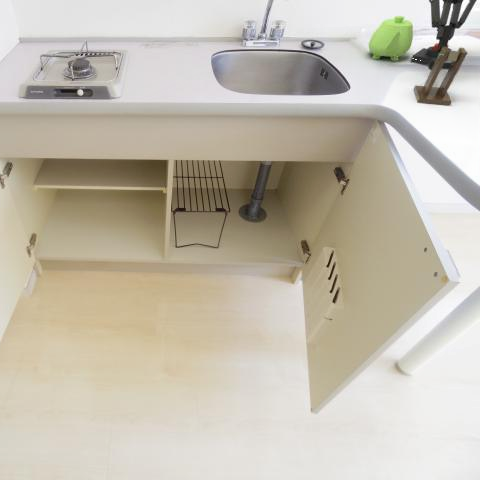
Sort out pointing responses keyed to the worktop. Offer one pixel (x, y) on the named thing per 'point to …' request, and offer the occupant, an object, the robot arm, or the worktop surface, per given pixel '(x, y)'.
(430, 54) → the button box
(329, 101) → the worktop surface
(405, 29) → the teapot
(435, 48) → the button
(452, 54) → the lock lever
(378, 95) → the worktop surface
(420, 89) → the brown wooden stand
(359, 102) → the worktop surface
